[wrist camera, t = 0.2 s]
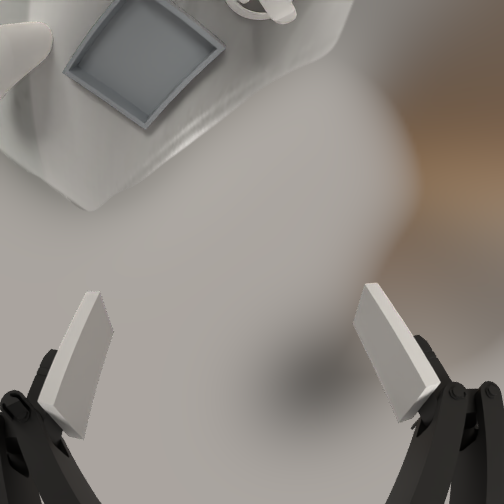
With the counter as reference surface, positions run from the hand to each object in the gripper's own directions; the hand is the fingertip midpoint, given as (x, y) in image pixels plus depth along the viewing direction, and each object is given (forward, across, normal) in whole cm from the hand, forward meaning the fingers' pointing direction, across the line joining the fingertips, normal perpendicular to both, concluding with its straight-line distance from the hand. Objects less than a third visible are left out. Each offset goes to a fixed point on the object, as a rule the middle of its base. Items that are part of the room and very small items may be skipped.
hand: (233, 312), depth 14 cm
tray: (+24, -10, +16) cm, 30 cm away
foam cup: (+22, -24, +21) cm, 39 cm away
